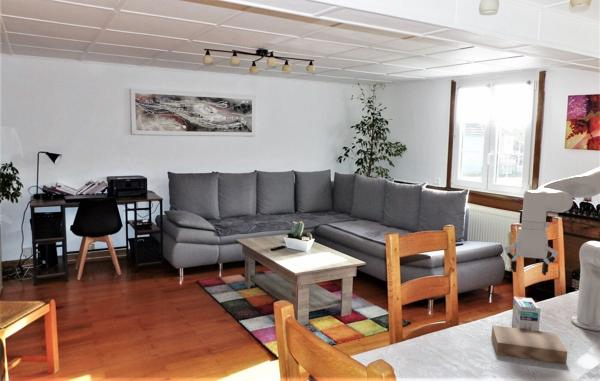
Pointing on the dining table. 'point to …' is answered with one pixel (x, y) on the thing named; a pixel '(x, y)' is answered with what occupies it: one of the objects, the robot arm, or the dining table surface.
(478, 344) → the dining table surface
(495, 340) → the block
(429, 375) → the dining table surface
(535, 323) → the light bulb box
